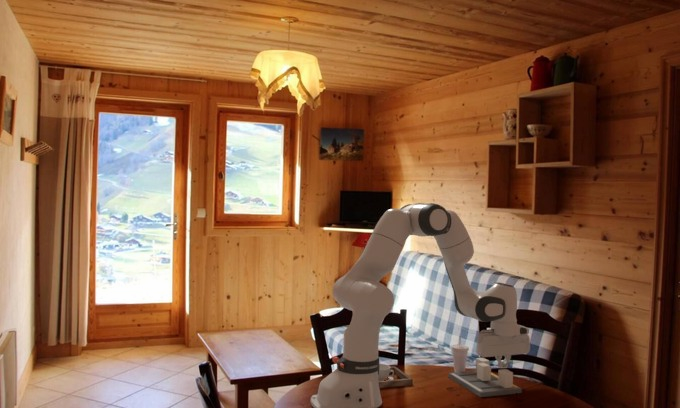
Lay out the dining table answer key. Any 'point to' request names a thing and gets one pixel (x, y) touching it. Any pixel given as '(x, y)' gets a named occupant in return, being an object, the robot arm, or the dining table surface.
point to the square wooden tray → (399, 382)
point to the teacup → (385, 372)
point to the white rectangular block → (483, 371)
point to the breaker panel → (487, 382)
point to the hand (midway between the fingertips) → (502, 367)
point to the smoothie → (459, 356)
